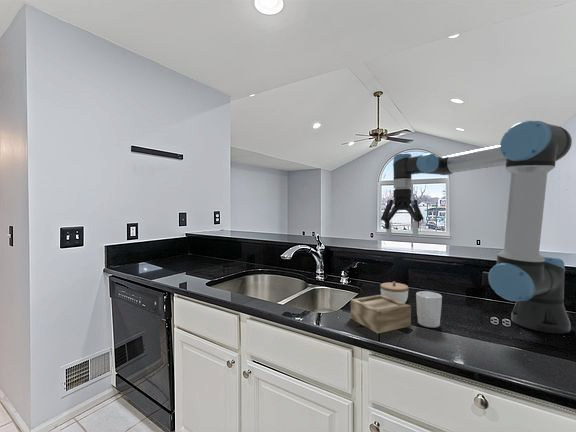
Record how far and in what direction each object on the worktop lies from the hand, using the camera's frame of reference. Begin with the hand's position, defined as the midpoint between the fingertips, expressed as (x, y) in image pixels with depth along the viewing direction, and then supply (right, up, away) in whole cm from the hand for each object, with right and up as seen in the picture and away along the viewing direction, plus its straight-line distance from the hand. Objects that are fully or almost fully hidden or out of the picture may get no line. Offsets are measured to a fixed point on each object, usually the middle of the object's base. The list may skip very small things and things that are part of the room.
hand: (402, 236), depth 134 cm
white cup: (-4, -28, -33) cm, 43 cm away
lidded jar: (-8, -27, -13) cm, 31 cm away
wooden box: (-20, -27, -32) cm, 46 cm away
